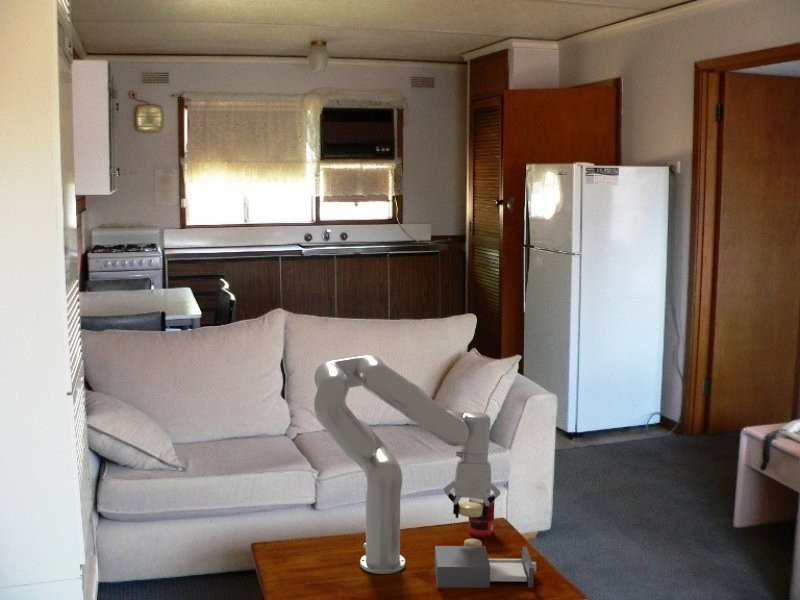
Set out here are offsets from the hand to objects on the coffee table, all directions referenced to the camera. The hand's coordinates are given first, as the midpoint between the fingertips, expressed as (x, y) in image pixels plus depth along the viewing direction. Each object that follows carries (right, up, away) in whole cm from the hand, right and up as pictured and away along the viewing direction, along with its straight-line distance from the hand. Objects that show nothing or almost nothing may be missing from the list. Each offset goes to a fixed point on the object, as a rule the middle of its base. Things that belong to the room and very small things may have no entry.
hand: (470, 516), depth 263 cm
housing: (-3, -14, -10) cm, 17 cm away
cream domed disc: (0, +1, 0) cm, 1 cm away
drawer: (+9, -14, -10) cm, 19 cm away
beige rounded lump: (+1, -12, +2) cm, 12 cm away
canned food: (+5, -9, +20) cm, 22 cm away
